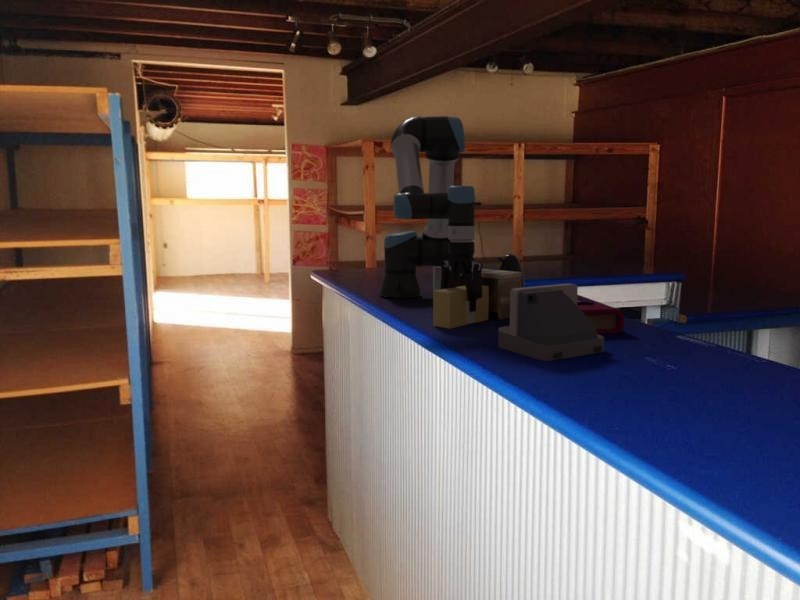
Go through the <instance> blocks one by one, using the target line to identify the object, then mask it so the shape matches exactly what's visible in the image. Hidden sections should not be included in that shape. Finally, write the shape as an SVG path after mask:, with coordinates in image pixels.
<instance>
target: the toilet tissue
mask: <svg viewBox="0 0 800 600" xmlns="http://www.w3.org/2000/svg"><path fill="white" fill-rule="evenodd" d="M450 269H451V267H450ZM432 271H433V272H432V274H433V275H432V277H433V278H432V292H433V291H435V290H441V271H442V269H441V267H432Z"/></svg>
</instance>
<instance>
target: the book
mask: <svg viewBox="0 0 800 600" xmlns="http://www.w3.org/2000/svg"><path fill="white" fill-rule="evenodd" d="M577 307H578V308H579V309H580V310H581V311H582V312H583V313H584V314H585V315H586V316H587V317H588V319H589V320H590V321H591V322H592V323H593V325H594V326H595V328H596V332H597V334H598V335H601V334H600V333H620V334H621V333H622V332H623V331H624V327H625V317H624V316H625V314H624V312H623V311H622V310H621V309H619V308H616V307H613V306H612V305H611V306H610V305H608V304H605V303H602V302H599V301H596V300H594V299H591V298H588V297H585V296H583V295H581V294H577Z"/></svg>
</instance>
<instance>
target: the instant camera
mask: <svg viewBox="0 0 800 600" xmlns="http://www.w3.org/2000/svg"><path fill="white" fill-rule="evenodd" d="M577 295H578V285H577V284H575V283H570V282H569V283H558V284H549V285H545V284H544V285H536V286H524V287H523V288H513V289H511V291H510V318H509V325H507V326H505V325H504V326H500V327H498V329H497V330H498V335H497V336H498V345H497V346H498V348H500V349H503V350H506V351H508V352H509V351H510V352H513V353H515V354H520V355H523V356H525V357H528V358H532V359H536V360H538V361H539V360H540V361H543V362H549V361H557V360H562V359H568V358H569V359H570V358H576V357H582V356H586V355H587V356H589V355H594V354H600V353H604V352H605V337H604V336H603V335H602V334H597V332H596V328H595V326H594V325H593V323H592V322H591V321H590V320H589V319H588V317H587V316H586V315H585V314H584V313H583V312H582V311H581V310H580V309H579V308H578V307H577Z"/></svg>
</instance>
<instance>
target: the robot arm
mask: <svg viewBox="0 0 800 600" xmlns="http://www.w3.org/2000/svg"><path fill="white" fill-rule="evenodd" d="M464 130H465V129H464V125H463V122H462V119H460V118H459V117H457V116H448V115H447V116H446V115H444V116H443V115H441V116H413V117H410V118H407V119H406V120H404V121H403V122H402V123H400V124H399V125H398V127H396V129H395V130H394V132H393V134H392V136H391V141H390V149H391V153H392V154H393V156H394V158H395V166H396V178H397V186H398V193H395V194H394V196H393V215H394V218H395V219H398V220H427V221H426V222H427V223H426V224H427V225H426V226H425V227H424V228H423V229H422V234H417V231H415V230H410V231H409V230H407V231H402V232H395V233H390V234H387V235H386V236H385V238H384V239H383V240H384V244H383V250H384V258H383V259H384V266H383V267H384V276H383V279H382V283H381V287H380V289H379V296H380V295H382V296H386V297H396V298H395V299H413V298H414V299H415V298H418V297H421V296H422V289H421V287H420V283H419V279H418V277H417V268H420V267H421V268H427V267H429V268H430V267H431V268H433V267H441V269H442V271H441V289H448V288H454V287H456V284H457V280H458V276H459V275H460V274H462V277H463V278H464V282H465V286H466V290H467V294H468V299H467V301H466V323H472V324H474V323H473V322H474V311H476V300H477V299H479V298H482V278H481V271H482V269H483V267H484V266H483V263H482V262H479V263H478V262H476V261H475V259H474V256H475V242H474V240H475V239H476V236H475V234H476V233H475V232H476V231H475V230H476V229H475V220H476V219H475V217H476V215H475V213H476V212H475V211H476V209H475V208H476V207H475V205H476V192H475V189H476V188H475V187H474V186H473V185H454V181H455V180H454V179H455V163H456V162H457V161H459V159H460V154H462V153H464V152H465V151H466V149H465V147H466V140H465V139H466V138H465V131H464ZM420 153H424V154H425V159H426V160H428V162H429V167H428V170H429V171H428V172H429V173H428V192H427V193H426V192H425V190H424V189H425V188H424V182H423V181H424V180H423V175H422V170H421V169H422V168H421V164H420V155H419V154H420ZM450 267H451V270H450ZM471 268H472V269H473V274H472V269H471ZM467 273H468V274H467ZM472 275H473V278H472Z"/></svg>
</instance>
